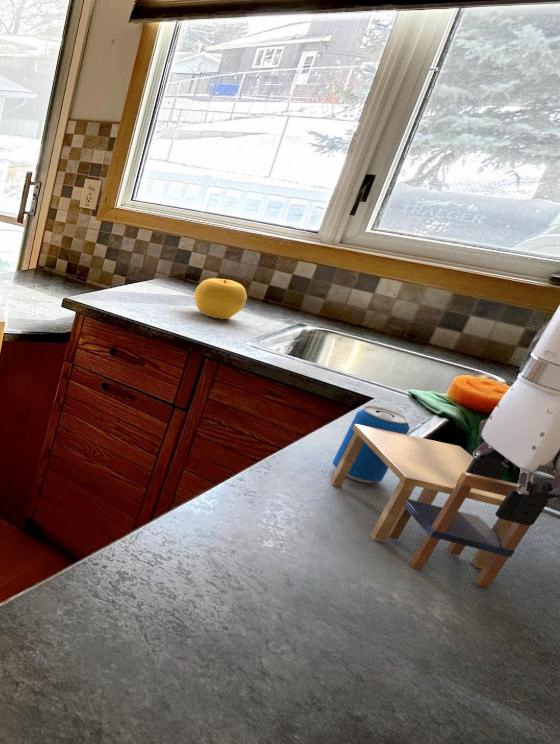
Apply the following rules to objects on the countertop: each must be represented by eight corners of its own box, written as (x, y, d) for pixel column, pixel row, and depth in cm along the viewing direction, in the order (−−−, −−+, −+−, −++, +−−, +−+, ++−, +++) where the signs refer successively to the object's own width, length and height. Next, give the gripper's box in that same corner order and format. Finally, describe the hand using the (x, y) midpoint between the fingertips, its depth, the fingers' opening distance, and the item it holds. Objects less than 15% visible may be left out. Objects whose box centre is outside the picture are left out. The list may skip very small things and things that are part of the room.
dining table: (426, 504, 99) (460, 446, 95) (491, 572, 84) (534, 507, 80) (326, 479, 103) (354, 423, 99) (371, 540, 89) (406, 477, 85)
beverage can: (379, 475, 106) (411, 415, 101) (380, 490, 101) (414, 428, 97) (331, 459, 110) (360, 400, 105) (329, 473, 105) (360, 412, 101)
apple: (179, 310, 189) (191, 275, 185) (203, 306, 195) (215, 272, 190) (224, 325, 178) (238, 288, 174) (247, 321, 184) (261, 285, 180)
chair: (455, 551, 87) (510, 462, 82) (490, 589, 80) (552, 494, 75) (384, 532, 90) (433, 445, 85) (411, 567, 83) (466, 475, 78)
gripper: (683, 419, 63) (585, 556, 69) (562, 360, 78) (490, 477, 84) (581, 401, 65) (496, 534, 72) (483, 347, 80) (420, 461, 87)
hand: (494, 502), depth 78 cm, fingers open, 6 cm apart
